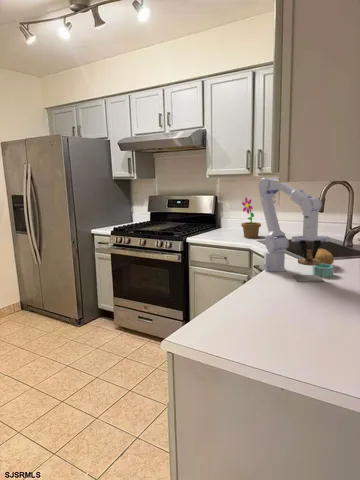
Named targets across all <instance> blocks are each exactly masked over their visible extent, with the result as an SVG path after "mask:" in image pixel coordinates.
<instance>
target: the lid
mask: <svg viewBox="0 0 360 480" xmlns="http://www.w3.org/2000/svg"><path fill="white" fill-rule="evenodd" d="M297 263H298V264H299V265H303V266H313V265H319V264H320V260H317V259H313V250H312V249H306V259H304V258H303V257H302V258H299V259H297Z"/></svg>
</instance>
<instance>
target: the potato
mask: <svg viewBox="0 0 360 480" xmlns="http://www.w3.org/2000/svg"><path fill="white" fill-rule="evenodd" d="M315 259H317V260H320V264H329V265H332V264H333V263H334V261H335V260H334V259H335V258H334V255H333V254H332V253H331V252H329V251H328V250H327V249H324V248H319V249H318V251H317V253H316V256H315Z"/></svg>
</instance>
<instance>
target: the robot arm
mask: <svg viewBox="0 0 360 480" xmlns="http://www.w3.org/2000/svg"><path fill="white" fill-rule="evenodd" d="M278 177H279V176H277V177H262V178H261V179H260V180H259V182H258V185H257V187H258V192H259V194H260V195H259V197H260V198H259V199H260V203H261V207H262V211H263V215H264V219H265V222H266V227H267V228H266V229H267V231H268V233H267V234H266V236H265V237H264V238H265V239H264V240H265V248H266V249H267V250H266V251H264V253H263V254H264V256H263V258H264V259H263V267H264V270H265V271H266V272H287V269H286V268H285V267H286V266H285V259H286V257H285V255H286V251H287V249H288V248H289V245H290V244H289V243H290V241H289V240H288V238H287V235H286V233H285V232H283V231H282V230H281V227H280V223H279V220H278V216H277V215H278V214H277V210H276V207H275V204H274V201H273V198H274V197H275V196H276V195H277V194H278V193H279V191H280V192H282V193H284V194H285V195H287V196H289V197H290V200H291V201H292V202H293V203H295V204H297V205H298V206H299V207H300V208H301V210H302V215H303V221H302V222H303V224H302V225H303V227H302V235H300V236H299V235H297V236H296V235H295V236H291V242H293V243H295V242H298V244H299V246H300V248H301V251H302V258H304V259H306V250H307V247H308V243H307V242H312V243H311V244H312V247H311V248H312V249H311V250H313V259H315V256H316V253H317V251H318V249H320V247H321V246H322V242H325V243H326V242H327V243H328V242H330V241H329V239H330V238H329V236H327V235H323V236H322V235H321V236H320V235H318V232H319V231H318V229H319V228H318V227H319V211H320V210H322V207H323V202H322V200H321V199H320V198H319V197H317V196H314V197H313V196H312V194H308V193H306V192H305V191H304V189H302V188H296V189H295V188H294V187H292V186H291V185H290V184H288V183H287V182H285V183H279V180H278Z"/></svg>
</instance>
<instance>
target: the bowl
mask: <svg viewBox="0 0 360 480" xmlns="http://www.w3.org/2000/svg"><path fill="white" fill-rule="evenodd" d="M334 268H335V267H334V265H332V264H331V265H329V264H319V265H312V275H319V276H320V277H321V278H331V277H333V276H334Z"/></svg>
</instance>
